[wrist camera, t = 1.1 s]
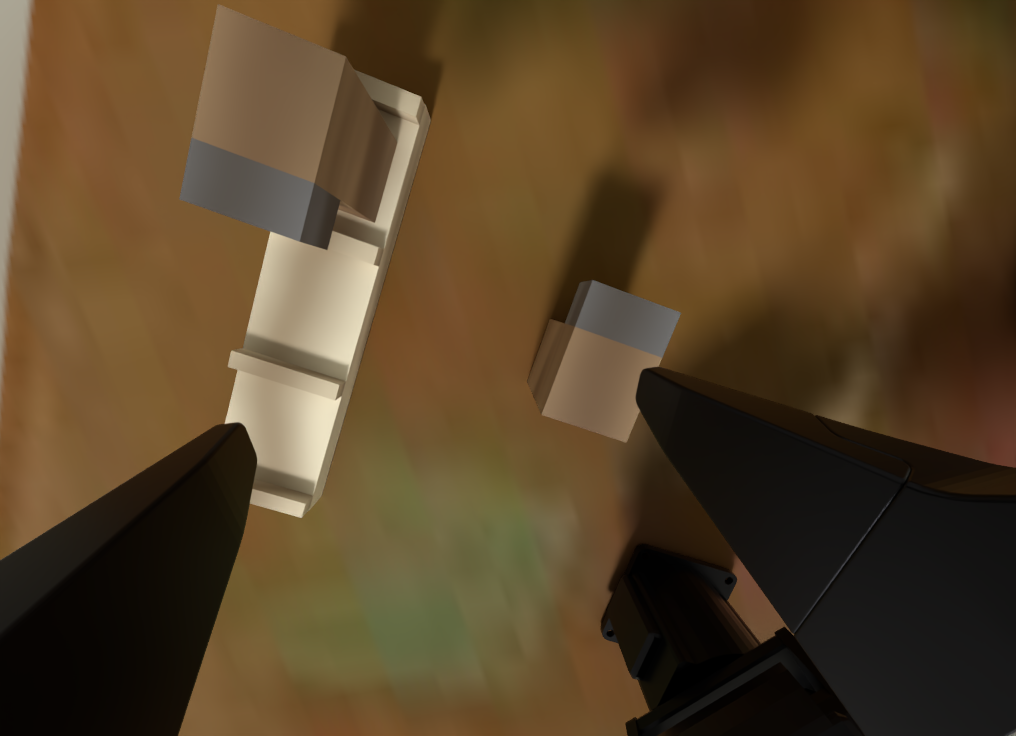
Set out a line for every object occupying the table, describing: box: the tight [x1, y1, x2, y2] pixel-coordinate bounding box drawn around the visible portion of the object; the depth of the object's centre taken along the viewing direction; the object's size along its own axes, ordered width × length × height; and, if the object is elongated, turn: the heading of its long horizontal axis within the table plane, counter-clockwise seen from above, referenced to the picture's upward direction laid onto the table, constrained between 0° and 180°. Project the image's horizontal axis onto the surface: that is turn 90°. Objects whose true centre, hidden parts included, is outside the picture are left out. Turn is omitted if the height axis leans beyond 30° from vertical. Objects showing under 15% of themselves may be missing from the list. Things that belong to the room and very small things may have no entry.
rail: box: [180, 4, 431, 518], centre depth 16 cm, size 5×20×8 cm, turn 161°
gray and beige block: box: [527, 280, 681, 442], centre depth 17 cm, size 4×5×6 cm, turn 161°
